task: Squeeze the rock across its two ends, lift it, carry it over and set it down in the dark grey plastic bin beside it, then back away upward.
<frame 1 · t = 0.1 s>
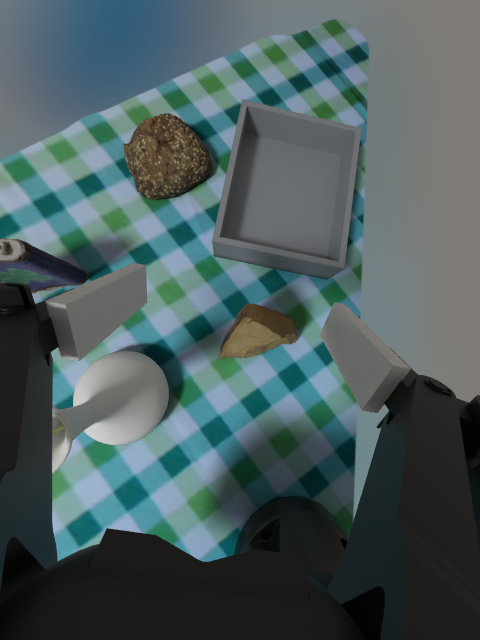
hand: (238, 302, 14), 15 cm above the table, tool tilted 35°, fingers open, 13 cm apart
rock: (258, 340, 30), on the table
flower in vase: (124, 390, 27), on the table
bread roll: (167, 163, 32), on the table
bin: (282, 203, 32), on the table
flask: (54, 281, 29), on the table
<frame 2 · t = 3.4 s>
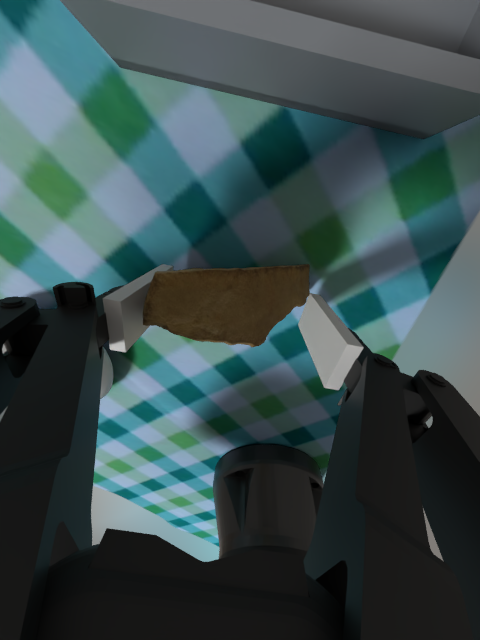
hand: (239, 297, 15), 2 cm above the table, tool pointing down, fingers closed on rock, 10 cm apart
rock: (240, 288, 17), on the table, touching gripper
flower in vase: (59, 348, 21), on the table
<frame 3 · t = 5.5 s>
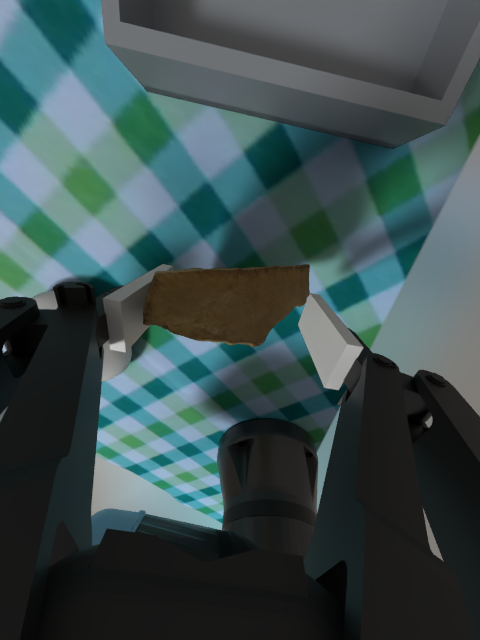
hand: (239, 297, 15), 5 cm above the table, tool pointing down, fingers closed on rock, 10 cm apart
rock: (240, 288, 17), point 3 cm above the table, touching gripper
flower in vase: (83, 329, 24), on the table
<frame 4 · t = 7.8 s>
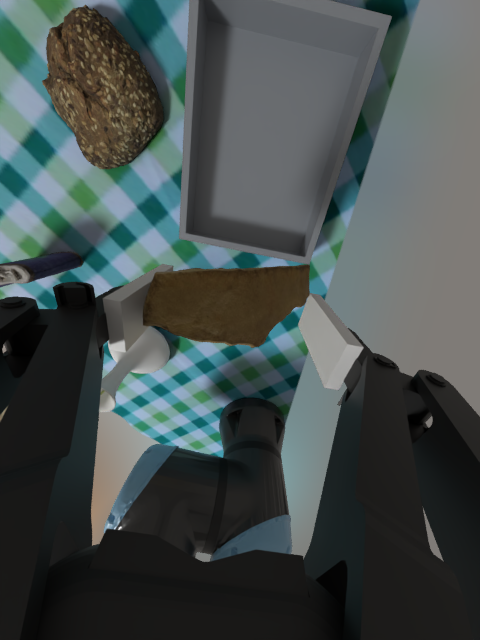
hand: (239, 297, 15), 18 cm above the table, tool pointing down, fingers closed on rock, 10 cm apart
rock: (240, 288, 17), point 16 cm above the table, touching gripper
flower in vase: (140, 341, 40), on the table
bread roll: (107, 101, 25), on the table
bin: (261, 160, 26), on the table
flask: (58, 262, 34), on the table
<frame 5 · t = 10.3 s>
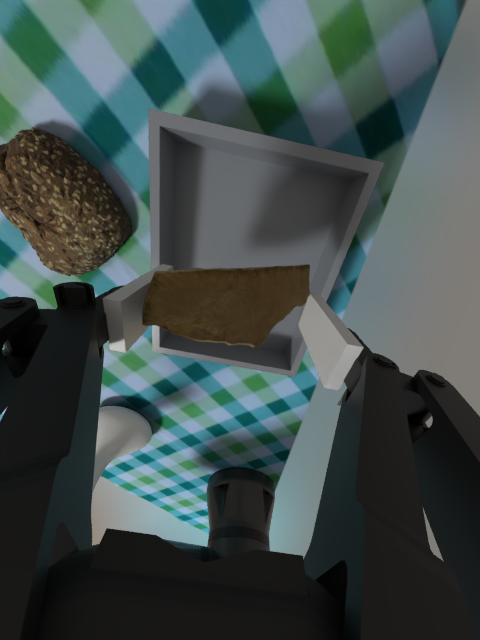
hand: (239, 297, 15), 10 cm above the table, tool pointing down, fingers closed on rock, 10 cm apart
rock: (240, 288, 17), point 8 cm above the table, touching gripper
flower in vase: (121, 418, 38), on the table
bread roll: (68, 209, 22), on the table
bin: (243, 268, 24), on the table
when the fingers open (5 cm above the table, at t = 12.1 s): rock drops 3 cm, resting on bin.
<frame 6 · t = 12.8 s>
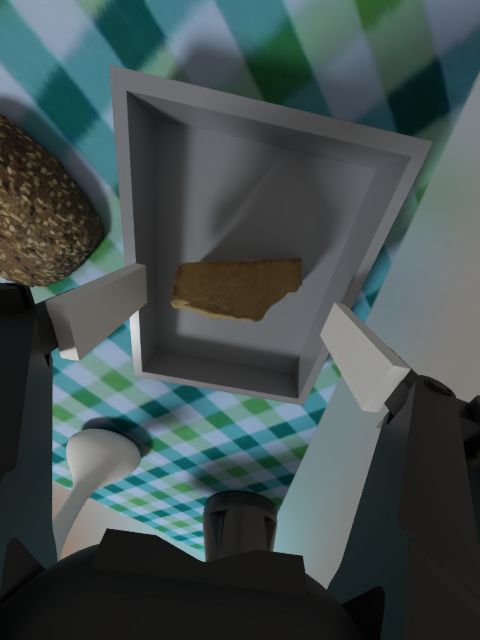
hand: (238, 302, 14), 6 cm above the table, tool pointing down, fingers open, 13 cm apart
rock: (243, 281, 19), point 1 cm above the table, touching bin
flower in vase: (107, 440, 34), on the table
bread roll: (27, 207, 18), on the table
bin: (242, 277, 20), on the table
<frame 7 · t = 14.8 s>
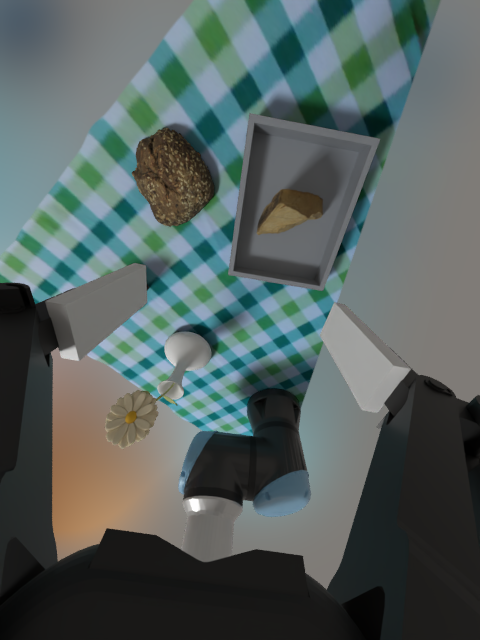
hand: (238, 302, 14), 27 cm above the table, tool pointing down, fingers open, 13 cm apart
rock: (289, 217, 35), point 1 cm above the table, touching bin
flower in vase: (186, 345, 51), on the table
bread roll: (173, 180, 34), on the table
bin: (288, 216, 36), on the table
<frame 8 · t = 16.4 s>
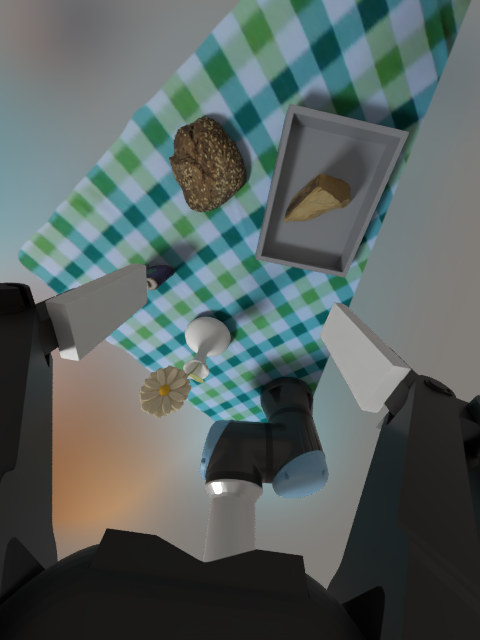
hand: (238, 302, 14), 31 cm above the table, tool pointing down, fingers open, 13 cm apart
rock: (315, 206, 37), point 1 cm above the table, touching bin
flower in vase: (206, 332, 52), on the table
bread roll: (207, 168, 36), on the table
bin: (314, 205, 38), on the table
flask: (155, 273, 45), on the table
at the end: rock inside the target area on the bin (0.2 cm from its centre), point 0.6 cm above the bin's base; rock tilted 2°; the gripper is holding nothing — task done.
